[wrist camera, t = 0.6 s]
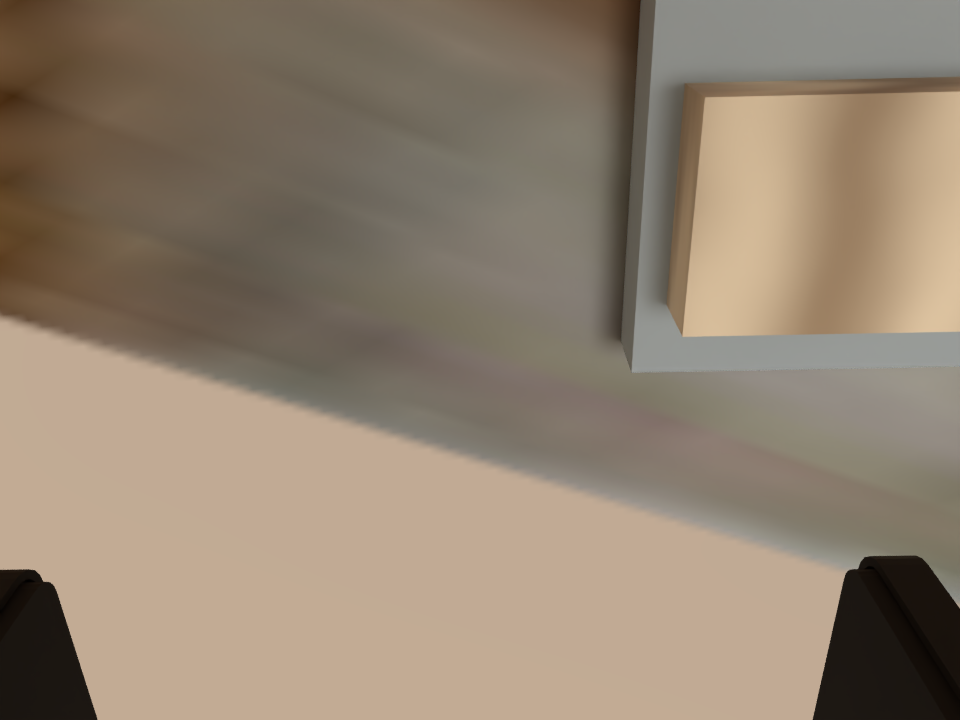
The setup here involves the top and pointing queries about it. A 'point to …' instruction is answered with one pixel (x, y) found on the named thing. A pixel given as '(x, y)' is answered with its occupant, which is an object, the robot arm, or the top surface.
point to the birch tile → (817, 208)
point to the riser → (746, 58)
